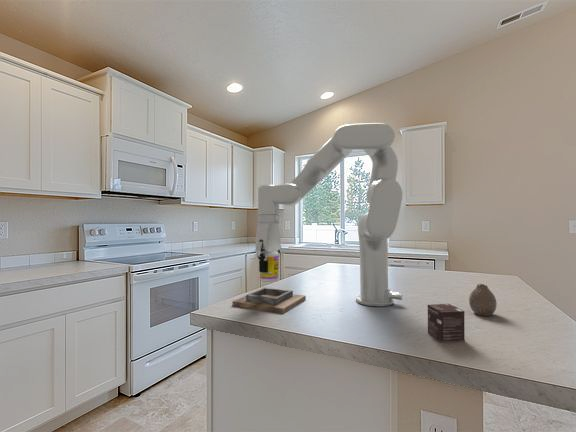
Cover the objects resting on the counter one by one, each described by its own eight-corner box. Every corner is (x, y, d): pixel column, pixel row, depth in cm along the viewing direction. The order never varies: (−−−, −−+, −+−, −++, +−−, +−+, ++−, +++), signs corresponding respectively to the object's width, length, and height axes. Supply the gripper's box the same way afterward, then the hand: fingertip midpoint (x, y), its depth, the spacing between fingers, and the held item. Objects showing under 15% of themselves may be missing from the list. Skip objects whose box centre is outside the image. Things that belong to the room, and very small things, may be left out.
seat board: (305, 299, 109) (305, 290, 109) (283, 313, 94) (283, 302, 94) (259, 294, 118) (259, 285, 118) (232, 305, 103) (232, 295, 103)
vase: (492, 311, 92) (491, 283, 92) (500, 318, 86) (499, 288, 86) (467, 309, 95) (466, 281, 95) (472, 316, 88) (471, 286, 88)
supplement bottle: (276, 282, 102) (275, 245, 102) (257, 282, 104) (257, 244, 104) (280, 278, 109) (280, 243, 109) (262, 278, 110) (262, 243, 110)
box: (427, 333, 76) (426, 304, 76) (449, 332, 77) (449, 303, 77) (441, 343, 70) (440, 311, 70) (465, 341, 71) (465, 310, 71)
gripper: (272, 219, 116) (272, 266, 116) (245, 220, 100) (246, 273, 100) (289, 219, 112) (289, 267, 112) (264, 220, 97) (265, 275, 97)
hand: (269, 270), depth 106 cm, fingers closed on supplement bottle, 6 cm apart
